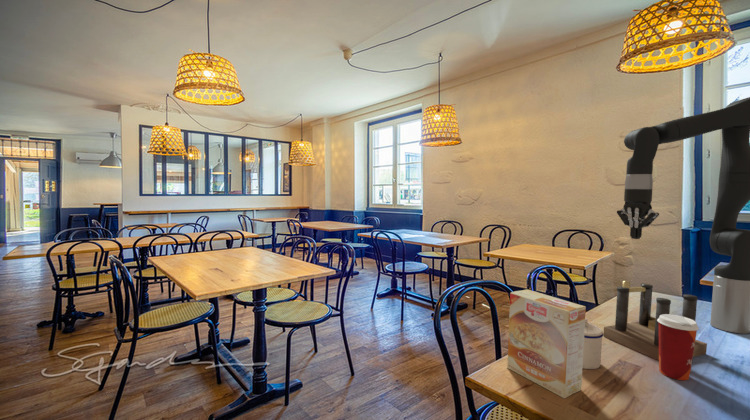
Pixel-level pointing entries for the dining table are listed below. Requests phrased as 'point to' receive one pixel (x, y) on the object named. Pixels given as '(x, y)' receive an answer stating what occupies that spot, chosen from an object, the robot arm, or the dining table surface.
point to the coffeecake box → (546, 341)
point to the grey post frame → (642, 301)
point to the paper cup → (676, 345)
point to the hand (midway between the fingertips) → (635, 238)
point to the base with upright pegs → (648, 336)
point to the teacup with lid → (592, 346)
